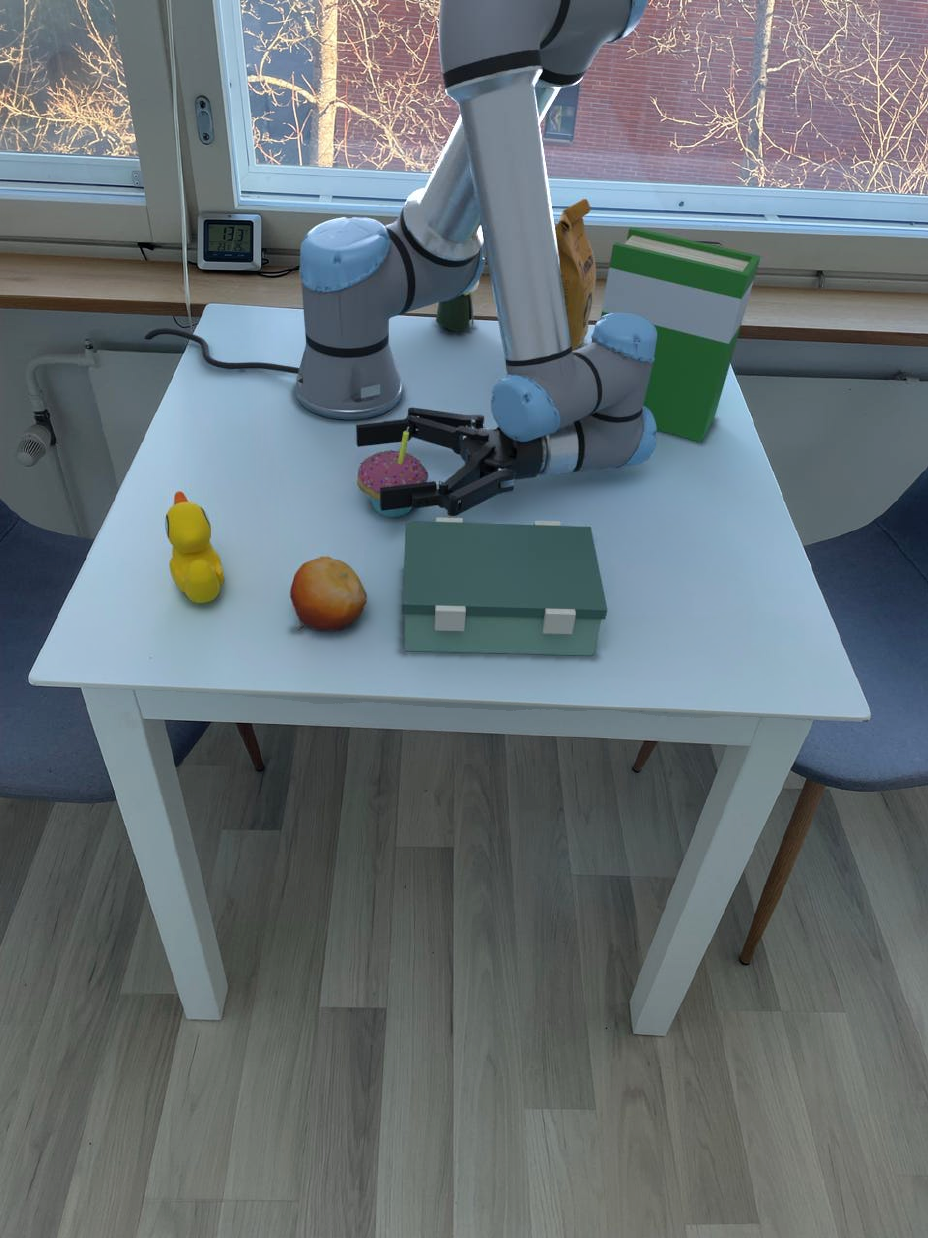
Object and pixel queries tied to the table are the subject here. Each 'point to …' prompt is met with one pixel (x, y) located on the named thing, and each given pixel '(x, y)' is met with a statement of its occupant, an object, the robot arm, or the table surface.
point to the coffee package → (576, 269)
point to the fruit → (327, 594)
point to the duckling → (193, 551)
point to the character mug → (457, 311)
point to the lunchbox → (501, 588)
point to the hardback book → (682, 319)
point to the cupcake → (390, 474)
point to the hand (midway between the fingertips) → (367, 466)
